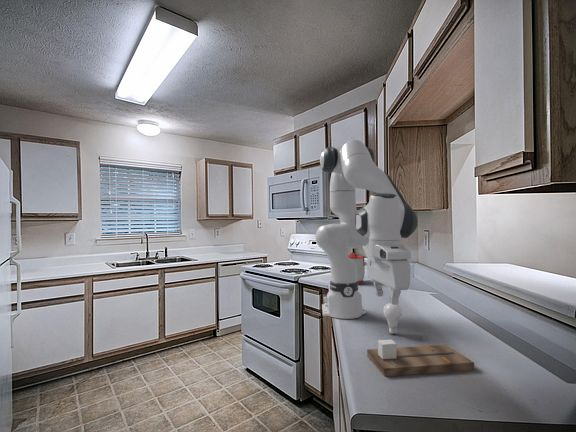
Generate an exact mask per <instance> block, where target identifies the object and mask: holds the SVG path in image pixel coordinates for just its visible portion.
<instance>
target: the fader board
mask: <svg viewBox="0 0 576 432" xmlns="http://www.w3.org/2000/svg"><path fill="white" fill-rule="evenodd" d="M366 352H367V353H366V354H367V355H366V357H367V358H368V359H369V360H370V361H371V362H372V364H373V365H374V366H375V367H376V369H377V370H378V371H379V372H380V373H381V374H382V376H384V377H393V376H407V375H421V374H435V373H436V374H437V373H449V372H462V371H464V372H465V371H474V370H475V362H474V361H472V360H471V359H470V358H468V357H466V356H465V355H463V354H462V353H460V352H458V351H457V350H455V349H453V348H452V347H450V346H449V345H447V344H434V345H419V346H403V347H400V346H399V347H396V357H397V358H395V359H382V358H381V357H380V356H379V355H378V348H369V349H367V351H366Z"/></svg>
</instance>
